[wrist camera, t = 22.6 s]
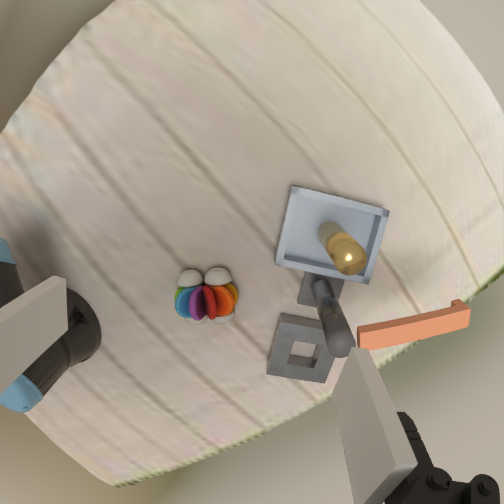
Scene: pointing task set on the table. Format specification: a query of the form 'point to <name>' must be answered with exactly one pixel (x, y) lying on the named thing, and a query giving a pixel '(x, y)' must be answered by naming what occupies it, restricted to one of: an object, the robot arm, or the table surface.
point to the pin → (342, 248)
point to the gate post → (324, 299)
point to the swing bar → (399, 330)
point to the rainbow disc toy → (206, 296)
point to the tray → (312, 217)
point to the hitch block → (297, 365)
